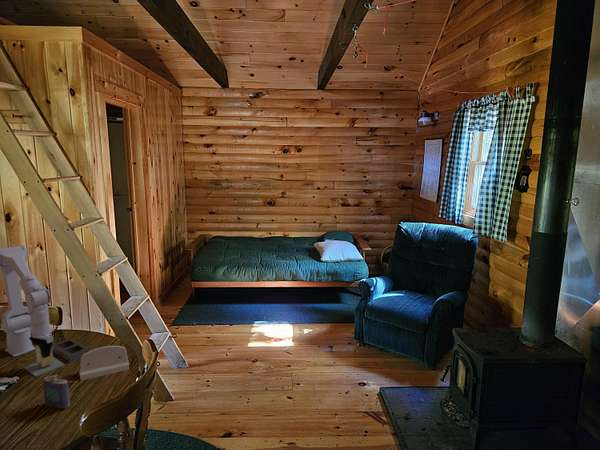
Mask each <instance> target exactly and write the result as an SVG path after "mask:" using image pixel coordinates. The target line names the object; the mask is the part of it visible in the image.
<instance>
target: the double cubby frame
mask: <svg viewBox="0 0 600 450" xmlns="http://www.w3.org/2000/svg"><path fill="white" fill-rule="evenodd" d="M52 351H53V354H55V355H57V356H59V357H60V358H61V359H64V360H65V361H67V362H68V363H73V362H76V361H78V360H81V356H82V355H83V354H85V353H87V352H88V351H91V349H90V347H87V346H86V345H84V344H83V343H81V342H79V341H78V340H75V339H73V338H72V337H70V338H67V339H64V340H60V341H58V342H55V343H53V344H52Z"/></svg>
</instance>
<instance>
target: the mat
mask: <svg viewBox="0 0 600 450" xmlns="http://www.w3.org/2000/svg"><path fill="white" fill-rule="evenodd" d="M53 361H54V363H52V364H49V365H46V366H44V367H41V366H40V365H38V364H37V362H35V363H32V364H30V365H27V366H24V367H23V369H24V370H26V371H27V372H28V373H29V374H31V375H32V376H34V377H35V378H36V377H40V376H42V375H45V374H47V373H49V372H52V371H54V370H57V369H59V368H61V367H64V366H65V365H66V364H65V363H64V362H62V361H60V360H59V359H58V358H56V357H54V356H53Z"/></svg>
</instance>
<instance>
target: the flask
mask: <svg viewBox="0 0 600 450" xmlns="http://www.w3.org/2000/svg"><path fill="white" fill-rule="evenodd" d="M58 377H59V375H58V374H57V373H56V374H55V375H53V374H52V375H49V376H45V377H44V378H43V379H42V382H43V392H44V393H43V396H44V406H46V407H49V408H53V409H56V410H57V409H59V410H67V409H68V408H69V407H71V401H70V391H69V380H67V379H62V378H60V379H59V378H58Z"/></svg>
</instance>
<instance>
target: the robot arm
mask: <svg viewBox="0 0 600 450" xmlns="http://www.w3.org/2000/svg"><path fill="white" fill-rule="evenodd" d="M28 256H29V255H28V250H27V247H26V246H24V245H23V244H20V245H16V246H11V247H10V246H9V247H3V248H0V271H1V274H2V279H3V284H4V290H5V296H6V301H7V306H8V309H7V310H5V311H4V312H3V313H2V315H1V328H2V330H3V332H4V333H6V343H7V348H5V349H4V351H5V352H6V353H8V354H10V355H11V356H12V357H18V356H20V355H23V354H27V353H29V352H31V351H32V352H33V351H36V346H35V344H37V345H38V346H39V348H40V350H41V354H42V357H43V358H46V357H48V356H50V352H51V347H52V345H53V344H54V342H55V337H54V336H53V335H52V333H53V332H54V331H55V330H54V328H51V326H50V325H51V323H50V314H49V313H50V312H49V305H48V304H50V302H51V295H50V292H49V290H48V289H47V288H46V287H44V286H42V285H41V282H40V281H39V280H38V277H37V276H36V275H35V274H31V271H30V268H29V265H28V263H27V261H28ZM21 290H22V291H23V294H24V296H25V297H24V298H25V305H26V306H24V302H23V297H22V292H21Z"/></svg>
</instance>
